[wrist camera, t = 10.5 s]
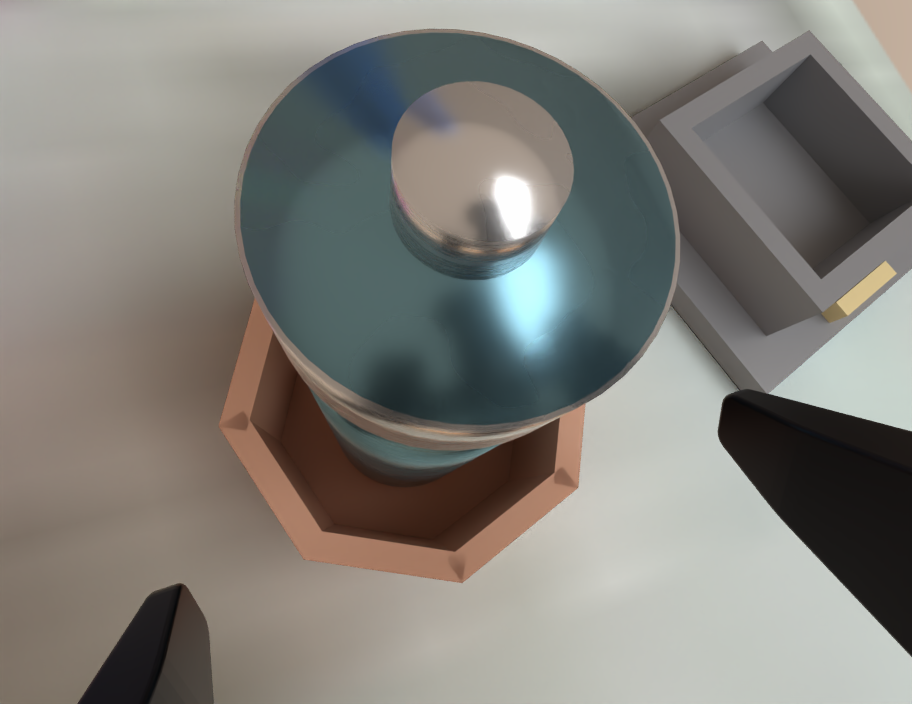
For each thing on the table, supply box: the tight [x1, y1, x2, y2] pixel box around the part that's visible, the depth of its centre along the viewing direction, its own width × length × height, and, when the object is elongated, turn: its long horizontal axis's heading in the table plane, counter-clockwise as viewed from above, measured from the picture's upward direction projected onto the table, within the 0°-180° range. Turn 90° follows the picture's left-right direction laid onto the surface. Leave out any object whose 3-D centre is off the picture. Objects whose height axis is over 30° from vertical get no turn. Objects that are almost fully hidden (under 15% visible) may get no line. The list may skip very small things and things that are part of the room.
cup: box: [219, 299, 585, 583], centre depth 15 cm, size 8×8×5 cm
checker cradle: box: [631, 30, 912, 394], centre depth 20 cm, size 11×11×4 cm
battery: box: [234, 29, 680, 487], centre depth 11 cm, size 4×4×13 cm
